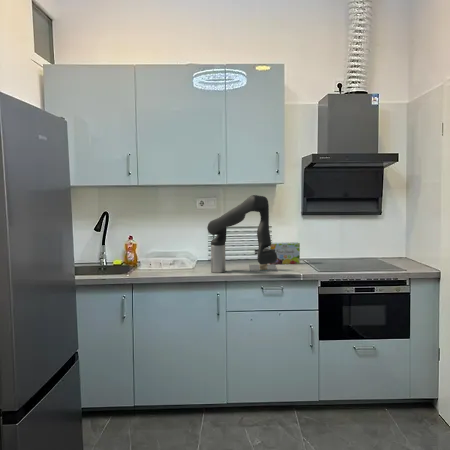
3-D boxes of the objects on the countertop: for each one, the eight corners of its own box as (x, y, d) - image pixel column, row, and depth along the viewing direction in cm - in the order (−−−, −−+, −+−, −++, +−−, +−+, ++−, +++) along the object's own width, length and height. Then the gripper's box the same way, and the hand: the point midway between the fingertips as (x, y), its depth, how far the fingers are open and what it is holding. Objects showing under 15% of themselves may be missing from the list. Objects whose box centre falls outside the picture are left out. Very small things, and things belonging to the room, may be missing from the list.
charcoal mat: (249, 272, 270) (249, 271, 270) (249, 265, 298) (249, 264, 298) (278, 272, 269) (278, 271, 269) (275, 265, 297) (275, 264, 297)
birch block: (259, 270, 274) (259, 245, 273) (259, 269, 279) (259, 244, 278) (267, 270, 274) (267, 245, 272) (267, 269, 279) (266, 244, 277)
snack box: (270, 264, 300) (270, 243, 299) (268, 263, 305) (268, 242, 304) (299, 264, 301) (299, 242, 300) (298, 262, 307) (297, 241, 306)
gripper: (276, 246, 247) (274, 243, 265) (254, 247, 248) (253, 244, 265) (277, 259, 248) (275, 255, 265) (254, 260, 248) (253, 256, 266)
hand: (264, 250), depth 265 cm, fingers closed
